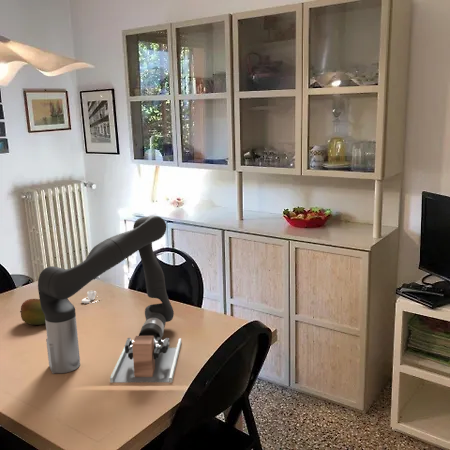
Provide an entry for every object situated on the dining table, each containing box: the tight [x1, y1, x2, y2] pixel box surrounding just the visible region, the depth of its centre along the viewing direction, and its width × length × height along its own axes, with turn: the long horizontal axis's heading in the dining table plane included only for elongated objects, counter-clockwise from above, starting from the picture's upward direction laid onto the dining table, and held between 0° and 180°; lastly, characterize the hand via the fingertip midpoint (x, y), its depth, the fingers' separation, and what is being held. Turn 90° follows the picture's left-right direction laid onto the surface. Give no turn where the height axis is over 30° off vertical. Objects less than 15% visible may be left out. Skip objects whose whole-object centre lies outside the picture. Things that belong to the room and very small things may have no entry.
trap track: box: [109, 338, 182, 384], centre depth 163 cm, size 26×19×2 cm
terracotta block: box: [132, 335, 155, 377], centre depth 155 cm, size 6×6×11 cm
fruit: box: [19, 298, 46, 326], centre depth 194 cm, size 12×12×10 cm
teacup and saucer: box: [81, 290, 98, 304], centre depth 218 cm, size 9×8×4 cm
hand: (142, 356), depth 153 cm, fingers open, 7 cm apart
